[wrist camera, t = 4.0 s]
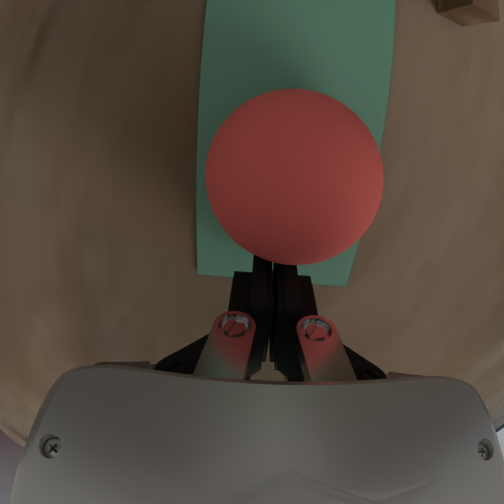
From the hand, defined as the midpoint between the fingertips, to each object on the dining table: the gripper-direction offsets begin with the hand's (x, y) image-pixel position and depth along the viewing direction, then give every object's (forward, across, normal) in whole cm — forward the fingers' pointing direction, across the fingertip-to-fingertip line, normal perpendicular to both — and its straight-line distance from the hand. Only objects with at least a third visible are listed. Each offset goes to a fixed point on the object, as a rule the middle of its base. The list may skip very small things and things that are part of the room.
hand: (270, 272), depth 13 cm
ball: (-1, 0, -5) cm, 5 cm away
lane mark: (+2, -1, -13) cm, 13 cm away
